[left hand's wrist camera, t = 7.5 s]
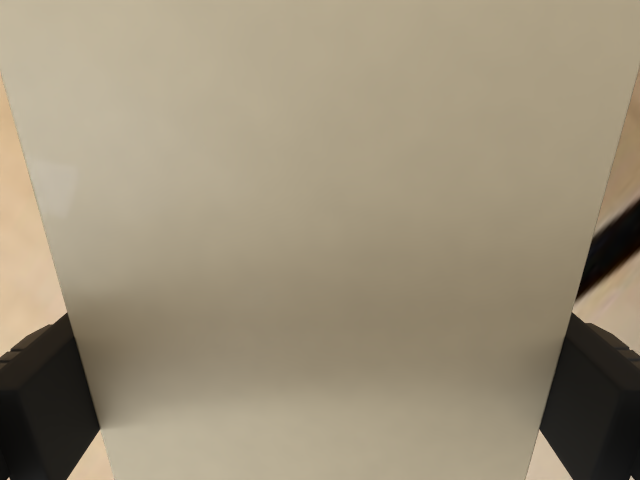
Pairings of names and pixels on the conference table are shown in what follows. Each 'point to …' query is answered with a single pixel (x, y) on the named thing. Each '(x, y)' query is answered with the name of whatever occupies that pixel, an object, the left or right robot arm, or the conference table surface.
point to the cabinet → (319, 221)
